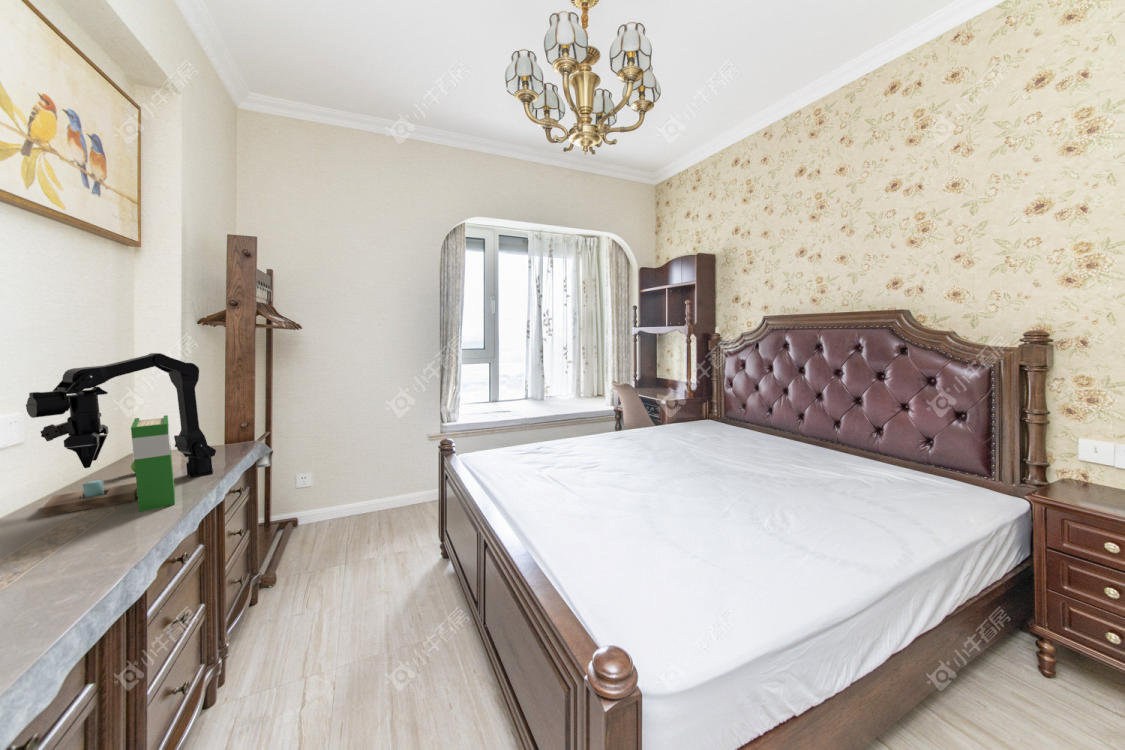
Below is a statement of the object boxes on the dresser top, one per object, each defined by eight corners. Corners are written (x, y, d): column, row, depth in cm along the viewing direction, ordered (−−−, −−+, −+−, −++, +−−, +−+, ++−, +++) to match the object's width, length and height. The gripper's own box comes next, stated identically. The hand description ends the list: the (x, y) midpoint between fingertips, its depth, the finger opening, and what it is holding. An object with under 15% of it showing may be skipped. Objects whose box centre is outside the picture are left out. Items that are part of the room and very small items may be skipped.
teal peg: (106, 498, 131) (103, 479, 130) (103, 502, 128) (101, 483, 127) (86, 501, 128) (84, 482, 128) (83, 506, 125) (81, 486, 125)
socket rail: (139, 489, 138) (139, 482, 138) (135, 500, 129) (134, 492, 129) (54, 504, 127) (53, 495, 126) (43, 516, 118) (42, 507, 118)
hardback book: (142, 494, 134) (134, 418, 132) (174, 488, 139) (167, 415, 137) (139, 511, 121) (130, 427, 119) (174, 504, 126) (167, 423, 124)
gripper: (51, 410, 127) (57, 461, 129) (31, 420, 113) (38, 478, 115) (106, 406, 134) (111, 455, 136) (93, 414, 120) (99, 469, 122)
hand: (90, 464), depth 127 cm, fingers open, 9 cm apart
